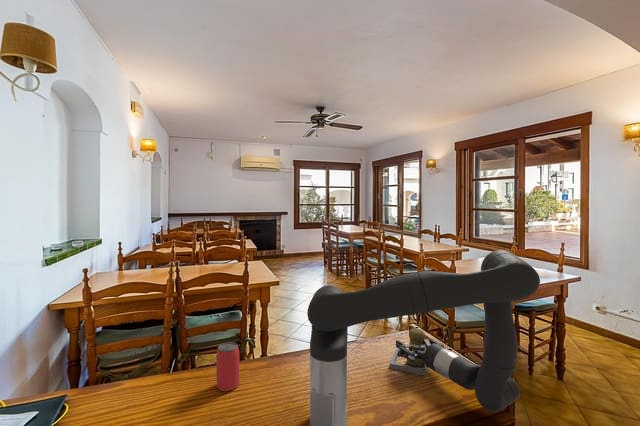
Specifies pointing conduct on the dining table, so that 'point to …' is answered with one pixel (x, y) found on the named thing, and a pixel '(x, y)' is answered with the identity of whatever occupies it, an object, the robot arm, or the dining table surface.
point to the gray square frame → (406, 367)
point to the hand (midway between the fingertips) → (406, 340)
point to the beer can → (227, 366)
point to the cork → (416, 339)
